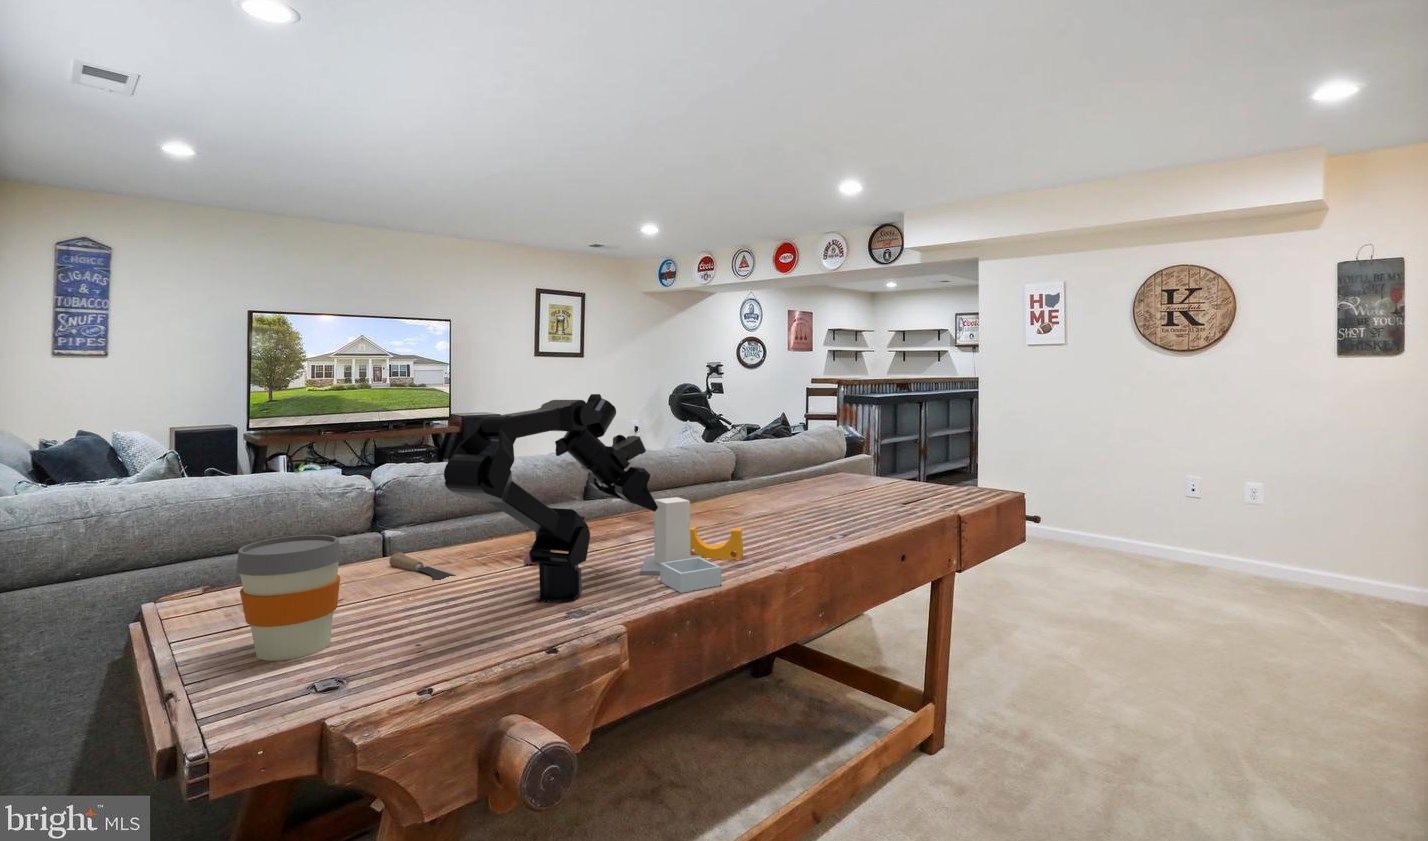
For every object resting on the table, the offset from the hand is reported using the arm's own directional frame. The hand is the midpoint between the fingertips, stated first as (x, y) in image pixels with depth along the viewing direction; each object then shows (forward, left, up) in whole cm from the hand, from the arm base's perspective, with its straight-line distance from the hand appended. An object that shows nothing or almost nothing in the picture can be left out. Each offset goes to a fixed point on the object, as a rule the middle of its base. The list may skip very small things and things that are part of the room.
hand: (646, 505), depth 130 cm
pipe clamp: (+14, +13, -14) cm, 23 cm away
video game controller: (-24, +12, -14) cm, 30 cm away
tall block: (+5, +5, -13) cm, 15 cm away
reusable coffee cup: (-47, -36, -14) cm, 61 cm away
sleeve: (+9, -7, -14) cm, 18 cm away
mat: (+5, +5, -14) cm, 15 cm away
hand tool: (-44, +1, -14) cm, 46 cm away
